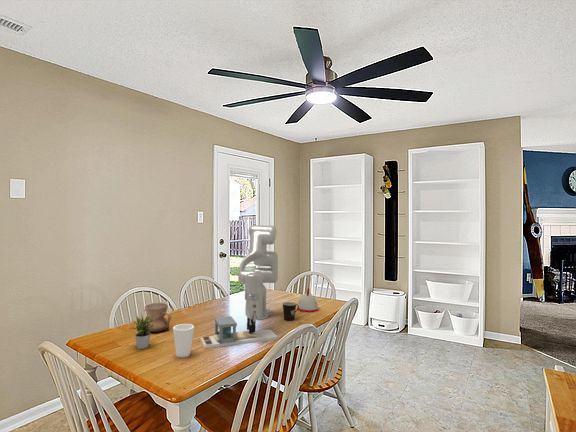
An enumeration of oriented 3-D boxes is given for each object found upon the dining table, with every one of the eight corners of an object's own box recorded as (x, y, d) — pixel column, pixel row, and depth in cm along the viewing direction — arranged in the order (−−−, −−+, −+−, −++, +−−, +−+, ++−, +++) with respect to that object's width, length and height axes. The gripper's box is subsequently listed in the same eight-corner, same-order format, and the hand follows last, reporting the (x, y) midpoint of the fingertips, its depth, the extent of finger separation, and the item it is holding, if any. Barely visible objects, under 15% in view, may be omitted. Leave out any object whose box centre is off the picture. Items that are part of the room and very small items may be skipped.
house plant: (157, 352, 166) (158, 317, 166) (125, 354, 162) (126, 319, 162) (159, 341, 179) (160, 309, 179) (130, 343, 175) (131, 311, 175)
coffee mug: (284, 322, 216) (284, 305, 216) (280, 317, 224) (281, 302, 224) (302, 320, 219) (302, 305, 219) (298, 316, 228) (298, 301, 228)
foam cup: (177, 350, 169) (178, 323, 168) (196, 351, 168) (196, 324, 167) (169, 358, 159) (169, 329, 159) (188, 359, 158) (189, 330, 158)
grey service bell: (318, 308, 251) (319, 287, 251) (316, 313, 237) (317, 291, 237) (299, 306, 253) (299, 286, 253) (296, 311, 240) (297, 290, 240)
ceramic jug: (134, 331, 193) (134, 306, 192) (152, 323, 206) (153, 300, 206) (160, 337, 187) (161, 310, 186) (177, 328, 200) (178, 303, 200)
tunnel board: (269, 331, 198) (270, 312, 197) (277, 339, 186) (278, 318, 186) (200, 339, 182) (200, 319, 182) (204, 348, 171) (205, 326, 171)
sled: (252, 332, 191) (252, 317, 191) (256, 337, 184) (257, 321, 184) (213, 336, 183) (214, 321, 183) (216, 341, 175) (217, 326, 175)
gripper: (263, 299, 180) (262, 335, 180) (253, 292, 196) (253, 325, 196) (249, 300, 177) (248, 336, 177) (240, 293, 193) (240, 326, 193)
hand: (251, 330), depth 187 cm, fingers open, 3 cm apart
